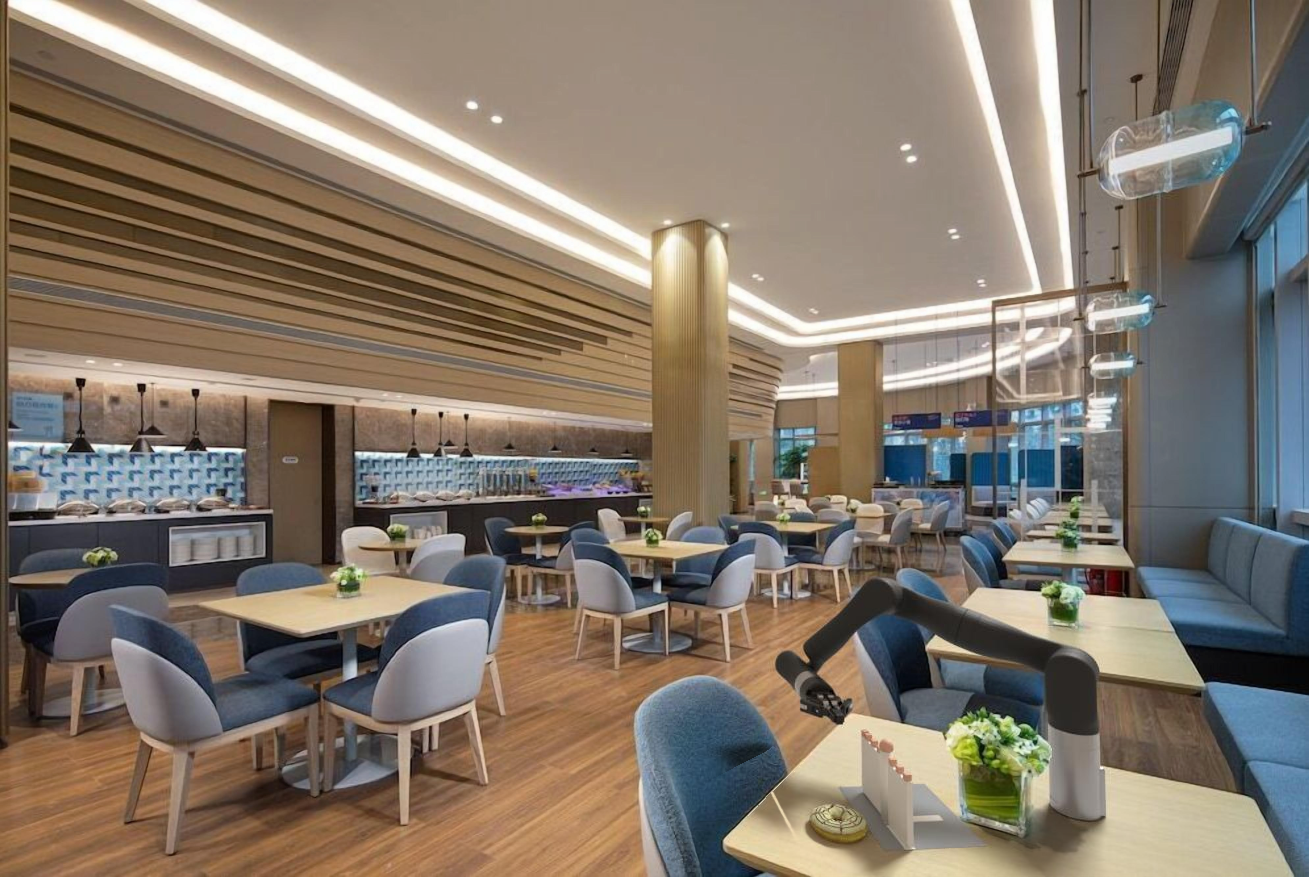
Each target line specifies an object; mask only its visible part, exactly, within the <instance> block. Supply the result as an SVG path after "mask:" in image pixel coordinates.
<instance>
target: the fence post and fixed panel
mask: <svg viewBox="0 0 1309 877" xmlns="http://www.w3.org/2000/svg"><path fill="white" fill-rule="evenodd" d="M878 745H879V748H880V774H881V821H882V822H885V823H887V824H889V825H890V826H891V827H892V829H893V830H894V831H895V833H896V834H897V835H898V836H899V838H900V839H901V840H902V841H903V843H904V844H905V845H906V846H907V848H911V847H914V833H913V784H914V782H913V775H912V773H910V772H909V771H905V766H904V765H903V764H901V763H900V764H898V760H897V758H895V757H894V748H895V747H894V743H893V742H892V741H891V740H890V739H888V738H883V739H881V740H880V742H878Z"/></svg>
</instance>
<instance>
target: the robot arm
mask: <svg viewBox="0 0 1309 877" xmlns="http://www.w3.org/2000/svg"><path fill="white" fill-rule="evenodd" d="M884 615H887V616H888V615H889V616H894V617H897V618H899V619H904V620H907V621H909V622H912V623H914V624H917V625H919V626H921V627H923V628H925V629H926V630H927V631H930V633H932V634H934V635H935V636H937V637H938V638H940V639H941V640H943V641H945V642H947V643H949V644H951V645H953V646H956V647H957V648H960V649H963V650H965V651H967V652H970V653H972V654H975V655H979V656H982V657H984V658H985V657H986V658H990V659H995V660H1000V661H1006V662H1011V663H1016V664H1020V665H1022V666H1026V667H1028V668H1029V669H1030V668H1031V669H1033V670H1035V671H1037V672H1039V673H1041V674H1043V675H1044V696H1045V697H1044V698H1045V710H1046V713H1047V733H1048V734H1047V736H1048V737H1047V738H1048V744H1049V745H1050V746H1051V748H1052V757H1051V758H1050V761H1049V760H1048V782H1049V783H1048V784H1049V785H1048V787H1049V788H1048V791H1049V794H1048V795H1049V805H1050V807H1051V808H1052V809H1053V810H1054V811H1056V812H1057V813H1060V814H1062V815H1064V816H1065V817H1068V818H1072V819H1076V820H1080V821H1081V820H1082V821H1089V822H1090V821H1097V820H1099V819H1101V818H1102V817H1106V816H1107V797H1106V796H1107V795H1106V770H1105V768H1104V767H1102V766H1101V747H1100V746H1101V745H1100V743H1101V742H1100V738H1101V737H1100V719H1099V714H1098V713H1099V712H1098V686H1097V684H1098V682H1099V680H1100V675H1101V674H1100V673H1101V672H1100V671H1101V670H1100V666H1099V665H1098V662H1097V661H1096V659H1095V658H1094V657H1093V656H1092V655H1090V654H1089V653H1088V652H1087V651H1085V650H1083V649H1081V648H1080V647H1079V648H1078V647H1076V646H1073V645H1069V644H1065V643H1061V642H1059V641H1054V640H1050V639H1047V638H1044V637H1040V636H1038V635H1035V634H1031V633H1029V632H1026V631H1024V630H1021V629H1019V628H1018V627H1015V626H1012V625H1011V624H1008V623H1006V622H1003V621H1000V620H998V619H995V618H994V617H990V616H988V615H986V614H983V613H980V612H978V611H976V610H972V609H971V608H967V607H964V606H961V605H959V604H955V603H951V602H948V601H945V600H941V599H937V598H933V597H930V596H928V595H925V594H924V593H923V594H922V593H920V592H918V591H916V590H915V589H914V590H913V589H912V588H909V587H908V586H906V585H904V584H901V583H900V582H898V581H896V580H894V579H891V578H888V577H880V576H879V577H877V576H876V577H872V578H869V579H868V580H867V581H865V582H864V583H863V584H862V586H861V587H860V588H859V590H858V591H857V592H856V593H855V594H854V595H853V597H852V598H851V600H850V601H848V603H846V605H845V606H844V607H843V608H842V609H841V610H840V611H839V612H838V613H837V614H836V615H835V616H834V617H832V618H831V620H829V621H828V622H826V624H824V625H823V626H822V627H820V629H818V630H817V631H816V632H815V633H814V634H813V635H811V636H810V637H809V638H808V639H807V640H806V641H805V642H803V646H802V649H803V652H804V654H805V656H806V657H807V659H808V660H809V661H806V660H804V659H803V658H801V656H800V655H798V654H797V653H796V652H794V651H793V650H789V649H788V650H783V651H781V652H780V653H779V654H778V655H777V656H776V657H775V658H776V659H775V661H774V662H775V663H774V667H775V670H776V672H777V673H778V675H779V676H780V677H781V678H783V679H784V680H785V681H786V682H787V683H788V684H789V685H790V686H791V687H792V689H793V690H794V692H795V693H796V694H797V696H798V698H799V711H800V712H802V713H805V714H808V715H811V716H813V717H817V718H818V719H823V718H824V717H825V718H826V719H827V720H830V722H832V723H833V724H835V725H836V726H838V725H839V726H842V725H844V723H845V718H847V717H848V716H849V715H850V713H851V712H852V711H853V698H851V697H849V698H846V699H842V698H841V696H839V695H837V694H836V692H835V689H833V687H832V686H831V685H830V684H829V683H828V682H827V681H826V679H824V678H823V677H822V676H821V675H820V674H818V672H819V671H820V670H821V668H822V667H823V666H824V665H825V663H826V662H827V661H828V660H830V659H832V657H833V656H834V655H836V654H837V653H839V651H840V650H842V648H844V646H846V645H847V643H849V641H850V640H851V638H852V637H853V636H854V635H855V634H856V633H857V632H858V631H859V630H860V629H861V628H862V627H863V626H865V625H866V624H868V623H869V622H871V621H872V620H874V619H876V618H878V617H879V616H884ZM1049 745H1048V746H1049Z"/></svg>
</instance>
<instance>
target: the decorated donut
mask: <svg viewBox="0 0 1309 877" xmlns="http://www.w3.org/2000/svg"><path fill="white" fill-rule="evenodd" d="M809 821H810V825H811V827H812V828H813V830H814V831H815V832H816V834H817V835H819V836H820V837H821V838H823V839H825V840H827V841H829V842H830V841H831V842H834V843H838V844H839V843H840V844H853V843H856V842H858V841H860V840H862V839H863V838H864V837H865V835H866V833H867V828H868V827H867V826H866V820H865V818H864V817H863V816H862V814H861V813H860V812H858V811H856V810H854V808H853V807H852V808H851V807H849V806H845V805H841V804H835V803H832V804H823V805H819V806H817V807H814V808H813V809H812V810H811V812H810V814H809Z"/></svg>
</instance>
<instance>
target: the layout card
mask: <svg viewBox="0 0 1309 877" xmlns="http://www.w3.org/2000/svg"><path fill="white" fill-rule="evenodd" d="M838 789H839V790H840V792H841V793H842V795H843V796H844V797H845V798H846V800H847V801H848V803H849V804H850V805H851V807H852V809H854V810H856V811H858V812H860V813H861V814H862V816H863V817H864V818H865V820H866V826H867V827H866V828H867V829H868V830H869V831H870V832H871V834H872V835H873V837H874V839H876V840H875V841H877V843H879V845H880V846H881V848H882V849H883V851H884V852H894V851H898V852H900V851H915V850H916V851H917V850H936V849H939V850H941V849H955V848H977V847H980V848H981V847H987V844H986V843H985V842H983V841H982V840H981V838H979V837H978V835H977V834H976V833H974V831H973V830H971V829H970V828H969V826H968V825H966V824H965V822H963V821H962V819H960V818H959V817H958V816H957V815H956V814H955V813H954V812H953V810H951V808H949V807H948V806H947V805H946V804H945V803H944V801H942V800H941V799H940V798H939V796H937V795H936V794H935V793H934V792H933V791H932V789H930V788H929V787H928V785H926V784H925V783H913V833H914V847H911V848H907V846H906V845H905V844H904V843H903V841H902V840H901V839H900V838H899V836H898V835H897V834H896V833H895V831H894V830H893V829H892V827H891V826H890V825H889V824H887V823H885V822H882V821H881V814H880V812H879V811H878V810H877V809H876V807H875V806H874V805H873V804H872V802H871V801H870V800H869V799H868V797H867V796H866V795H865V794H864V792H863V791H862V785H860V786H859V785H858V786H855V785H854V786H838Z"/></svg>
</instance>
